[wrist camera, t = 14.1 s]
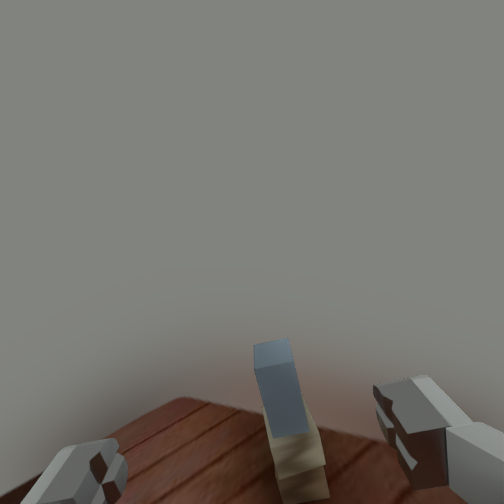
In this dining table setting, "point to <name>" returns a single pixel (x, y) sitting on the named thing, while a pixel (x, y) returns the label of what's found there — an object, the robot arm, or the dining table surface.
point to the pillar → (280, 388)
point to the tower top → (296, 449)
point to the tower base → (303, 486)
